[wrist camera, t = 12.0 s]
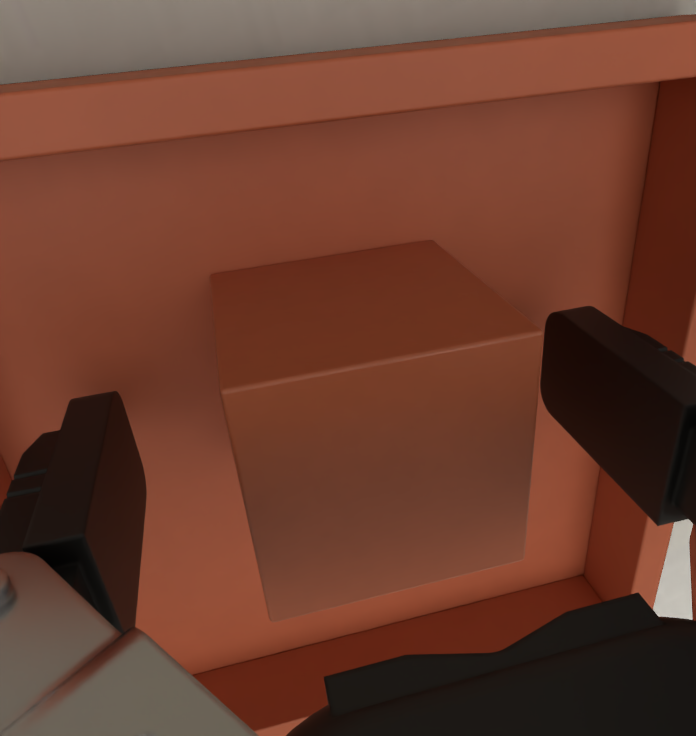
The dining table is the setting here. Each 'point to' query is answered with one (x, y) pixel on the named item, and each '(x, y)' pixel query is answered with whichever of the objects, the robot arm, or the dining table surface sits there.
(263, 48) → the dining table surface
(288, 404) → the terracotta block
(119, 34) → the dining table surface
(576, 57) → the terracotta tray
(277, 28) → the dining table surface
